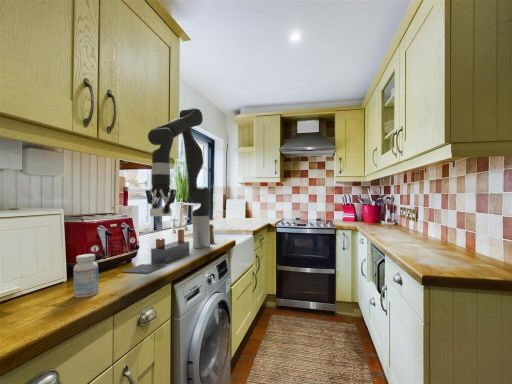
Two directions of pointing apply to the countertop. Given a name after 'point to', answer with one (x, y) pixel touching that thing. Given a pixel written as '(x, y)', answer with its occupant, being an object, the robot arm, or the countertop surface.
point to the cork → (211, 233)
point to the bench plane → (169, 250)
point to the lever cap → (159, 212)
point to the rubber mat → (143, 269)
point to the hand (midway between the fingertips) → (160, 213)
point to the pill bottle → (85, 276)
